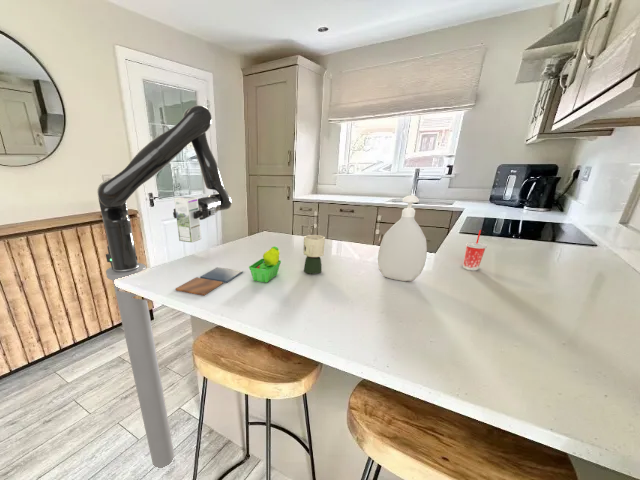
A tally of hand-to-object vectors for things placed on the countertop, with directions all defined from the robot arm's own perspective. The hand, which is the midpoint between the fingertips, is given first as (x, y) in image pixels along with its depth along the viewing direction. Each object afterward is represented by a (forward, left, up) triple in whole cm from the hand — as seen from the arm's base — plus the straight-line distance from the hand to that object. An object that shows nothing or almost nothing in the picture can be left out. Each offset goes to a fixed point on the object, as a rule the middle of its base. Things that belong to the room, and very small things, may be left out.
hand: (184, 215), depth 102 cm
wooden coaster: (+9, -7, -21) cm, 24 cm away
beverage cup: (+90, +46, -22) cm, 103 cm away
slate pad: (+10, +5, -21) cm, 24 cm away
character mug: (+39, +20, -22) cm, 49 cm away
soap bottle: (+67, +26, -22) cm, 75 cm away
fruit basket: (+26, +9, -22) cm, 35 cm away
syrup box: (0, +2, -9) cm, 9 cm away
